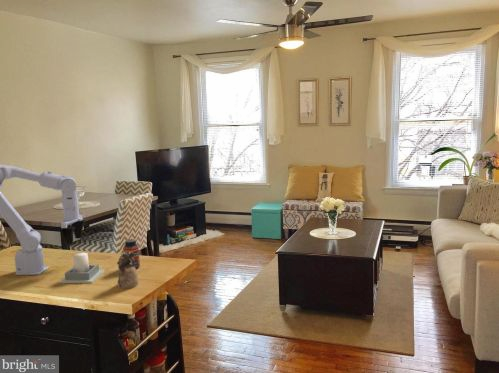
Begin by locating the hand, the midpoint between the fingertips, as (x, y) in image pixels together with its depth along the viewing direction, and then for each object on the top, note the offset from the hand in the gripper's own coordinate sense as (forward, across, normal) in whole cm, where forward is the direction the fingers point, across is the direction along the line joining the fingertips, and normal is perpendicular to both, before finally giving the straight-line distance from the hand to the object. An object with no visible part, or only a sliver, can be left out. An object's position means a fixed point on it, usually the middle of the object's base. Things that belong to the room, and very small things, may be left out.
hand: (74, 241), depth 172 cm
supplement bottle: (+11, -3, -24) cm, 26 cm away
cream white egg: (+10, -12, -8) cm, 17 cm away
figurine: (+11, -20, -28) cm, 36 cm away
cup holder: (+10, -12, -8) cm, 18 cm away
